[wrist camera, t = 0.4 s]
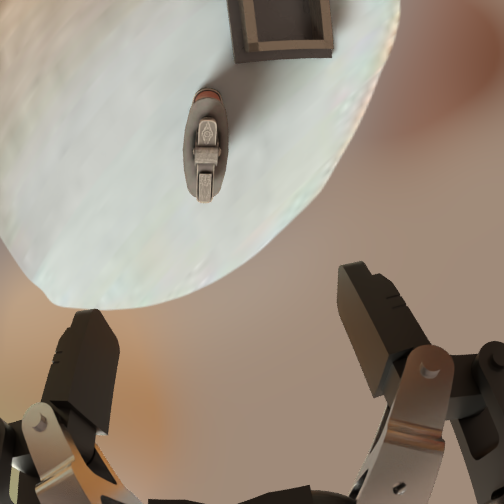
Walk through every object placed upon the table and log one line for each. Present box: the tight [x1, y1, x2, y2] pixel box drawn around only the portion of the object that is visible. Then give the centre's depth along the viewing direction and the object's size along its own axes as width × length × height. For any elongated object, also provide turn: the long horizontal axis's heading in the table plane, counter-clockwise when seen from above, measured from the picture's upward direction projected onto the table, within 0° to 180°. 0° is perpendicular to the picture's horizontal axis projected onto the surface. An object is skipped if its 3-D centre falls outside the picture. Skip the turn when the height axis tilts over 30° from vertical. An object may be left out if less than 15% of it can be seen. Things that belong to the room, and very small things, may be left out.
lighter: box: [183, 88, 228, 203], centre depth 24 cm, size 8×3×10 cm, turn 174°
